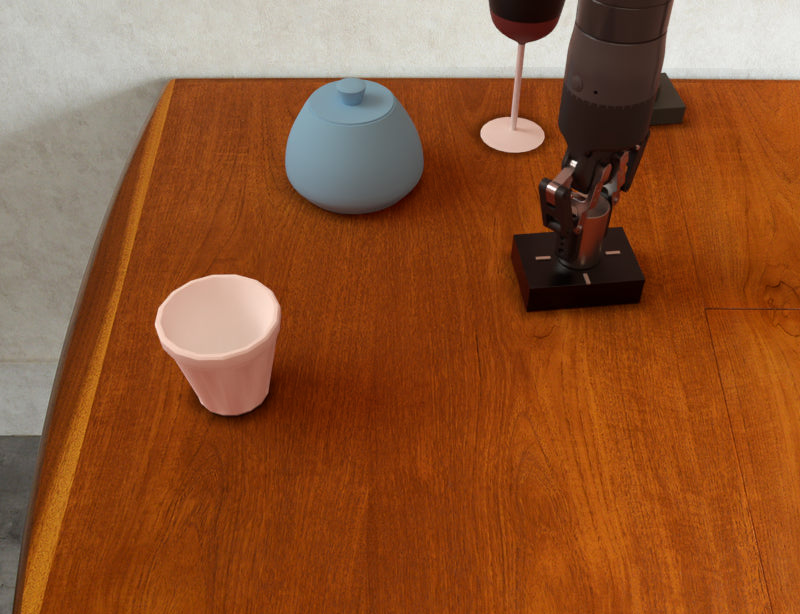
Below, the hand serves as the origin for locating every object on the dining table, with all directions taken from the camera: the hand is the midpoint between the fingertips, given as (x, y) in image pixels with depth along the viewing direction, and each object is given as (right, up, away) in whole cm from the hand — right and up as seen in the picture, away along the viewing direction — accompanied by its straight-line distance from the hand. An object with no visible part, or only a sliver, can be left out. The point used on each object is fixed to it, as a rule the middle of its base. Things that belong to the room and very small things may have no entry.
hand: (580, 246), depth 85 cm
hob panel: (0, -3, +3) cm, 4 cm away
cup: (-32, -14, -6) cm, 35 cm away
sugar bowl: (-22, +10, +14) cm, 28 cm away
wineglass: (-4, +16, +20) cm, 26 cm away
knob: (0, -1, +1) cm, 1 cm away
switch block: (+11, +21, +24) cm, 33 cm away
